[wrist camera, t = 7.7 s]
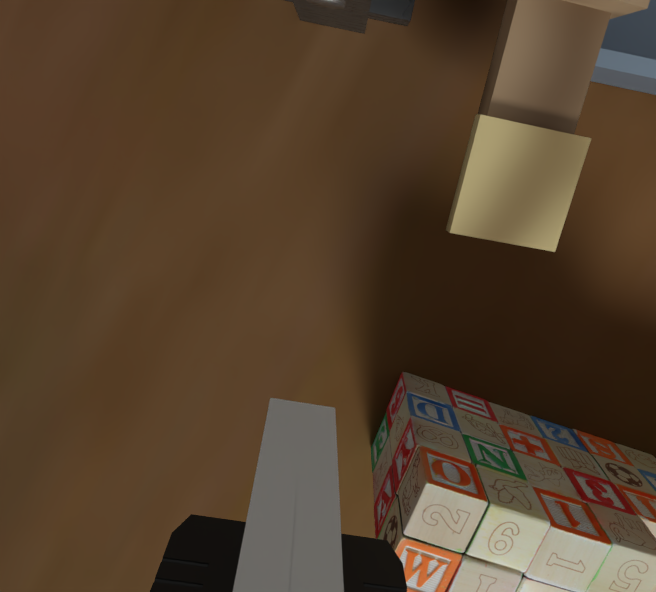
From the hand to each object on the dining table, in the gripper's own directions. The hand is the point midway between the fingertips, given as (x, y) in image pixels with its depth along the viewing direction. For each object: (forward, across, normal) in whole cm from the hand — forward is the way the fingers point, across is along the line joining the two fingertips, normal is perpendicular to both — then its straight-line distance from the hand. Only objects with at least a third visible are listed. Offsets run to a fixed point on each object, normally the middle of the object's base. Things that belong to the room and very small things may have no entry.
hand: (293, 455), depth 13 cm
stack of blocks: (+22, +17, -11) cm, 30 cm away
